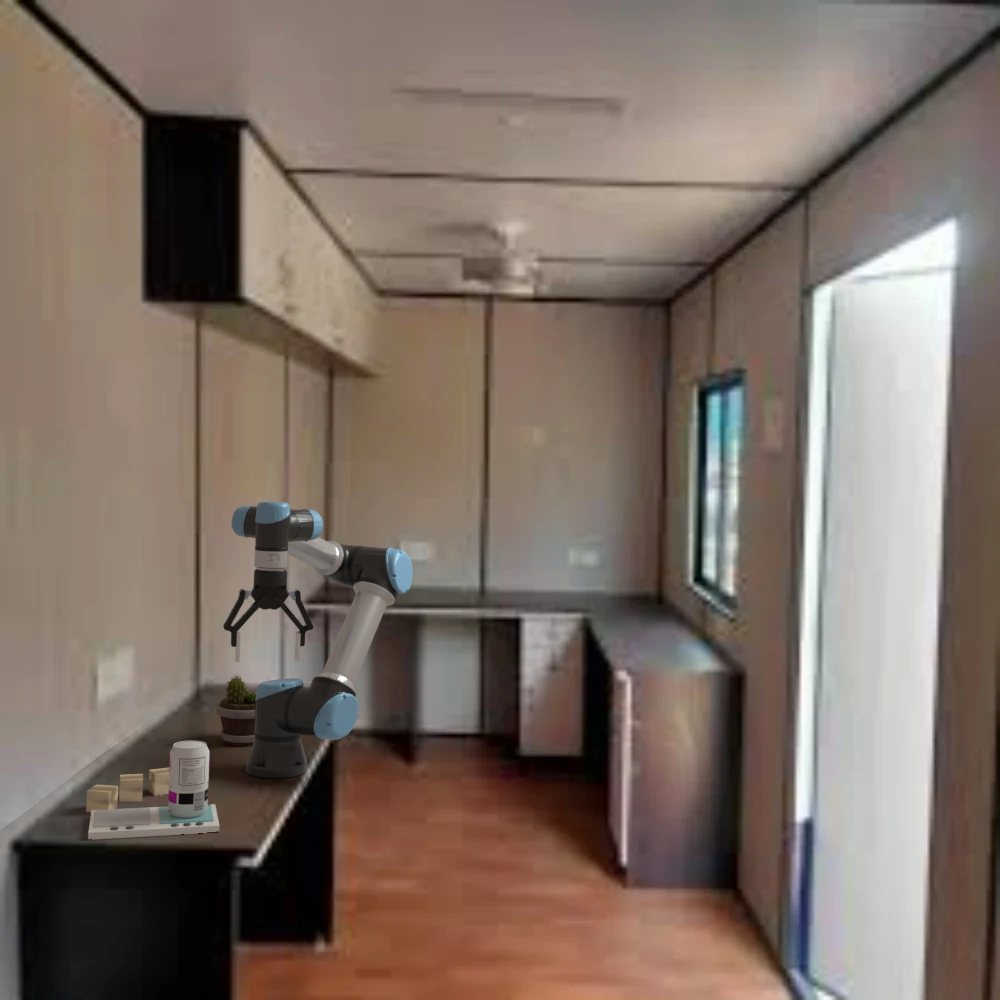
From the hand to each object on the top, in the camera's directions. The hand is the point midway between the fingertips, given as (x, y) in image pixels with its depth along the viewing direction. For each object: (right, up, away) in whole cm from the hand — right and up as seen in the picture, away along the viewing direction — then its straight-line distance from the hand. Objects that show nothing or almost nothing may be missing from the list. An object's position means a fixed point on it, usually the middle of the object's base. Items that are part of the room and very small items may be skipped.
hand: (267, 660), depth 258 cm
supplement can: (-14, -31, -16) cm, 37 cm away
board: (-20, -32, -19) cm, 43 cm away
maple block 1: (-34, -32, -11) cm, 48 cm away
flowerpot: (-18, -31, +53) cm, 64 cm away
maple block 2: (-31, -32, -1) cm, 44 cm away
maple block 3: (-26, -32, +5) cm, 41 cm away
